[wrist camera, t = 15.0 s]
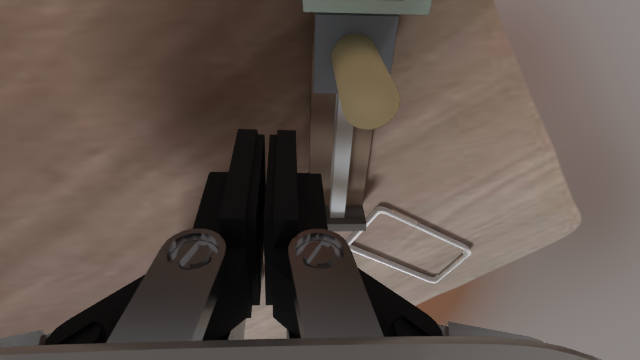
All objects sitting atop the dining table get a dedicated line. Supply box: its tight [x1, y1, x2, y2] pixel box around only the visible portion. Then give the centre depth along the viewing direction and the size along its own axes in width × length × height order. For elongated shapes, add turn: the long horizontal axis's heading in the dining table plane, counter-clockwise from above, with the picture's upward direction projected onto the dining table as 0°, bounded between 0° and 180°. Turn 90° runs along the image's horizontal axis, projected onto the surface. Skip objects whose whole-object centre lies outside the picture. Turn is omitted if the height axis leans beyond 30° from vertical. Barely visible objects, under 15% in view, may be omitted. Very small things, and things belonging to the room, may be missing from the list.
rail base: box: [309, 12, 373, 231], centre depth 36 cm, size 23×6×4 cm, turn 178°
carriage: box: [313, 12, 400, 130], centre depth 28 cm, size 6×6×11 cm
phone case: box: [346, 206, 471, 283], centre depth 49 cm, size 7×1×15 cm
